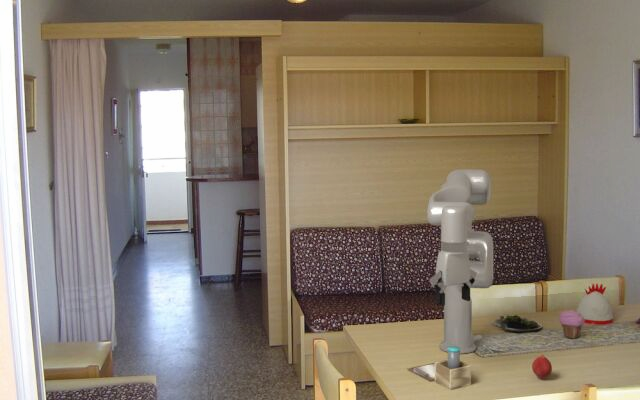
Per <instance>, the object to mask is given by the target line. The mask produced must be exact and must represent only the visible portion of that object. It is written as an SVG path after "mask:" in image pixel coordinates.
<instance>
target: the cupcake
mask: <svg viewBox="0 0 640 400" xmlns="http://www.w3.org/2000/svg"><path fill="white" fill-rule="evenodd" d="M558 318H559V321H558V322H559V323H560V325H561V327H562V333H563V336H564V337H565V338H570V339H576V338H578V337H580V336H581V332H582V327H583V326H584V325H585V323H584V322H585V320H584V317H583V316H582V315H581V314H580V313H579V312H577V310H563V311H562V312H561V313H560V314H559V317H558Z"/></svg>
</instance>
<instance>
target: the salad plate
mask: <svg viewBox="0 0 640 400" xmlns="http://www.w3.org/2000/svg"><path fill="white" fill-rule="evenodd" d="M493 324H494V325H495V326H496V327H497V328H500V329H501V330H502V331H504V332H506V333H511V334H532V333H538V332H540V331H541V330H542V329H543V327H544V326H543V324H541V323H539V322H536V321H534V320H532V319H531V318H527V317H521V316H519V315H517V314H514V315H510V314H507V315H506V316H504V315H501V316H499V319H495V320H493Z"/></svg>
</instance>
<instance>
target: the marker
mask: <svg viewBox="0 0 640 400" xmlns="http://www.w3.org/2000/svg"><path fill="white" fill-rule="evenodd" d="M447 360H448V368H449V369H456V368H460V361H461V358H460V348H459V347H455V346H450V347H448V352H447Z"/></svg>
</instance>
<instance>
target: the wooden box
mask: <svg viewBox="0 0 640 400" xmlns="http://www.w3.org/2000/svg"><path fill="white" fill-rule="evenodd" d="M434 363H435V362H434ZM434 382H435V383H436V384H439V385H440V386H443V387H444V388H446V389H449V390H450V391H453V390H456V389H461V388H465V387H468V386H469V387H470V386H471V385H472V365H471V364H468V363H465V362H464V361H461V360H460V368H456V369H449V368H448V359H445V361H444V360H441V362H440V361H436V363H435V381H434Z"/></svg>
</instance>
